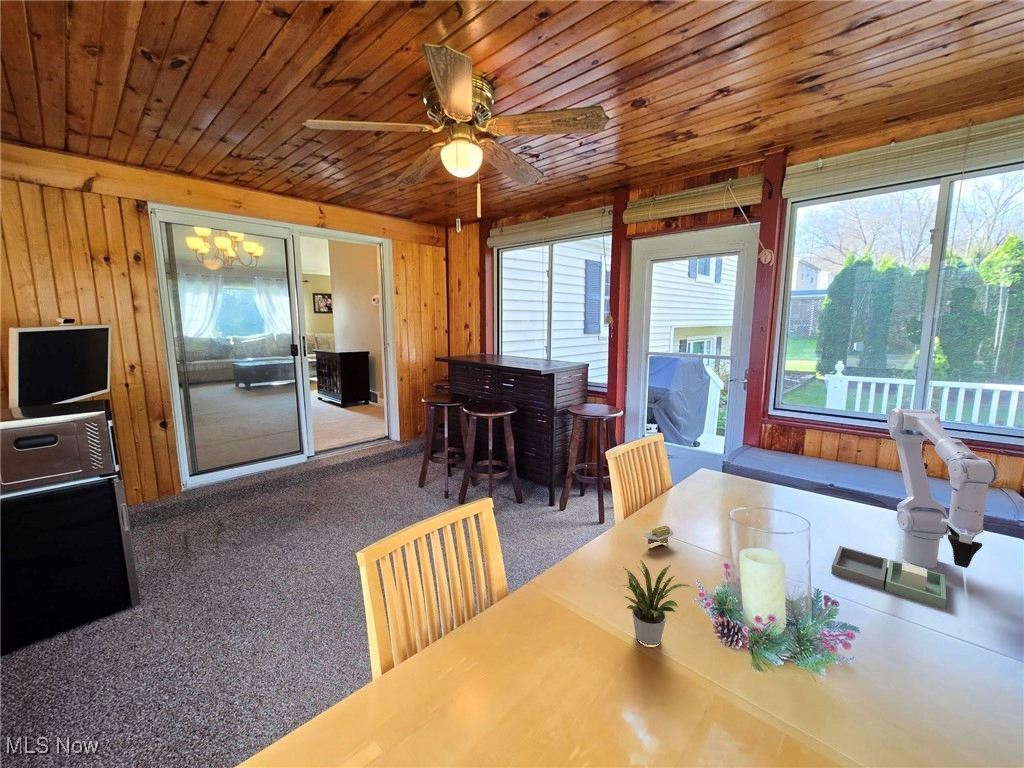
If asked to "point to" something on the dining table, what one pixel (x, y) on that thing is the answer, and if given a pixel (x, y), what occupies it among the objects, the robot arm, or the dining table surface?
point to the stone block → (913, 576)
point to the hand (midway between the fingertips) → (960, 559)
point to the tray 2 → (931, 595)
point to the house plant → (650, 606)
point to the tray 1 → (860, 567)
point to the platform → (659, 534)
